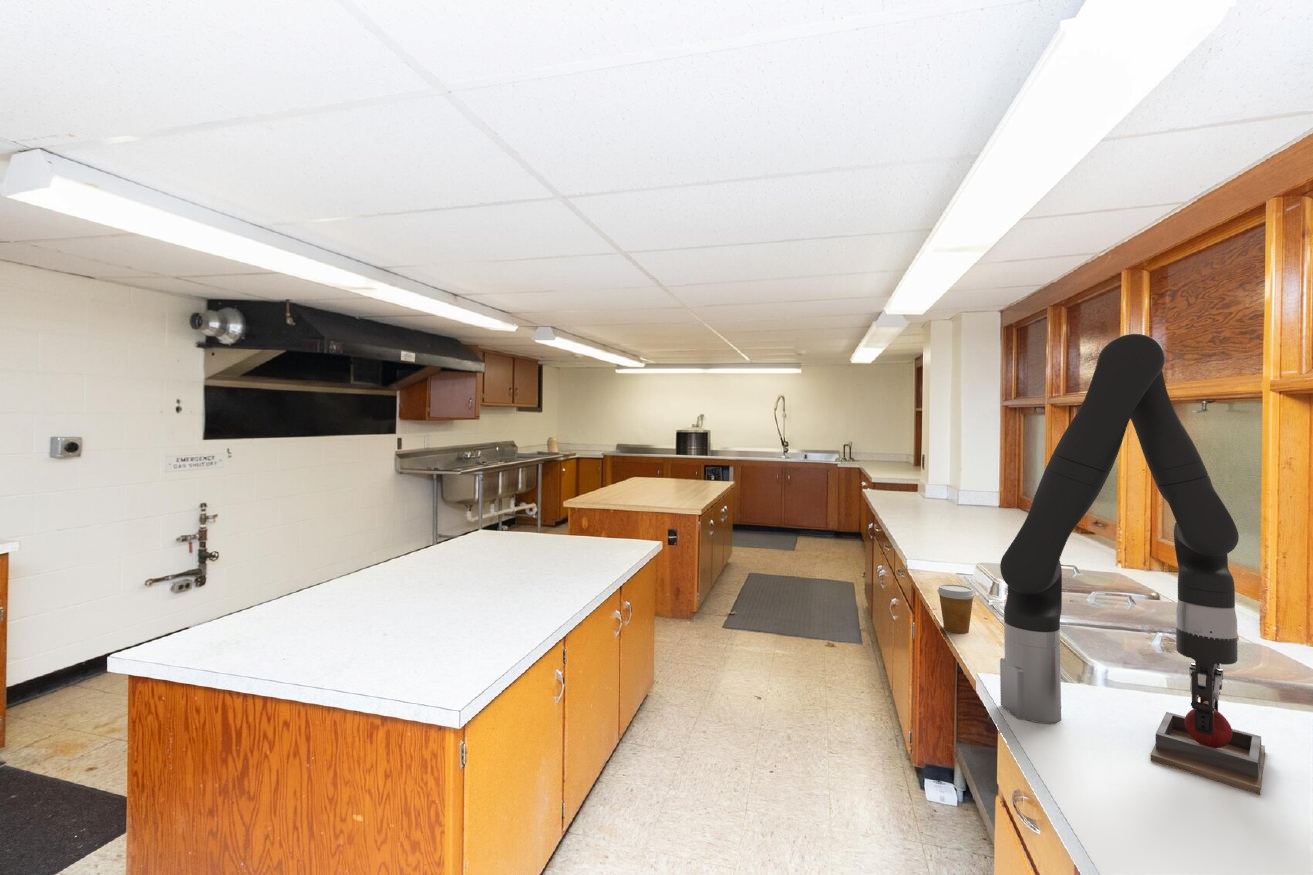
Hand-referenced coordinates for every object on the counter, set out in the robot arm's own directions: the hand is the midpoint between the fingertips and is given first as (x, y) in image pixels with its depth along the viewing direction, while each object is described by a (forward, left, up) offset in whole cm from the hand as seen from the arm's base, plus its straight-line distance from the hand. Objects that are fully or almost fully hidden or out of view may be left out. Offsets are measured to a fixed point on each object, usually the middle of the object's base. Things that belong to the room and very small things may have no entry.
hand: (1206, 724), depth 97 cm
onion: (0, 0, -4) cm, 4 cm away
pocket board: (0, 0, -5) cm, 5 cm away
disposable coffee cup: (-11, +66, -5) cm, 67 cm away
